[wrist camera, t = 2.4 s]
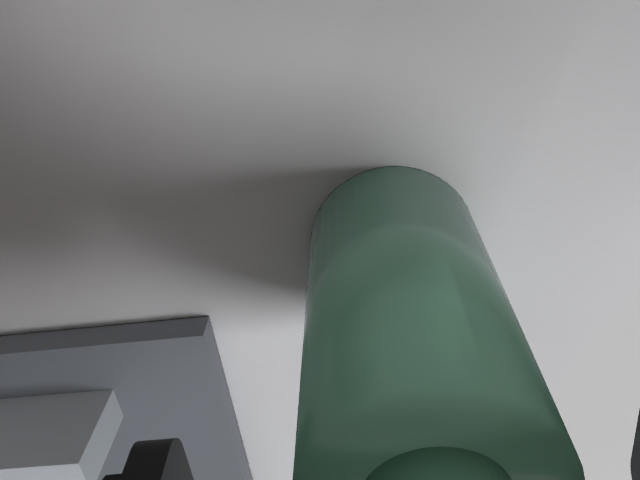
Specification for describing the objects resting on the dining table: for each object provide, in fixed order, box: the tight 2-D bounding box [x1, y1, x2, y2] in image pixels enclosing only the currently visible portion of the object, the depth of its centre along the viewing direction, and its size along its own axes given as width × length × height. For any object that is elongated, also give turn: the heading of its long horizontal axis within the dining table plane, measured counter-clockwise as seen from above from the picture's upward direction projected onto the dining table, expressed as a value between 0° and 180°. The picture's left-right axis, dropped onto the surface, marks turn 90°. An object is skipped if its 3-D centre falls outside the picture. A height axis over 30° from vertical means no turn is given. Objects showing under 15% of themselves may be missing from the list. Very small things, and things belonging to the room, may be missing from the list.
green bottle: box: [293, 166, 585, 480], centre depth 13 cm, size 5×5×12 cm
